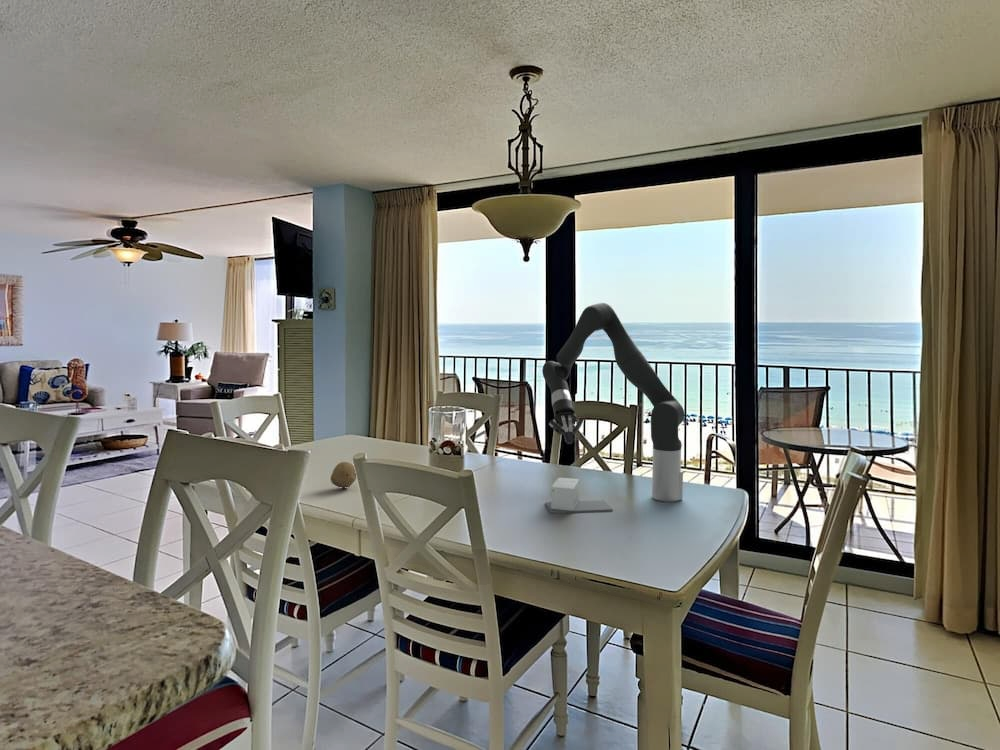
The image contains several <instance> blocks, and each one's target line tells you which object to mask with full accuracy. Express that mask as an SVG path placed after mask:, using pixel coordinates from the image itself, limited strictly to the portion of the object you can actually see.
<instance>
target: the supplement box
mask: <svg viewBox="0 0 1000 750" xmlns="http://www.w3.org/2000/svg"><path fill="white" fill-rule="evenodd" d="M578 501H580V479H579V478H571V477H570V478H567V477H558V478H557V479H556V480H555V482H554V483H553V484H552V485H551V487H550V502H551V509H557V510H568V511H573V510H574V508H575V506H576V505H577V503H578Z"/></svg>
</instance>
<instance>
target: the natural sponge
mask: <svg viewBox="0 0 1000 750" xmlns="http://www.w3.org/2000/svg"><path fill="white" fill-rule="evenodd" d="M354 467H355V465H353V464H352V463H351V462H347V461H342V462H339V463H338V464H336V466H335V467H334V468H333V470H332V473H331V475H330V482H331V484H333V486H335V487H338V488H339V487H342V488H345V487H348V488H349V487H350V486H352V484H353V483H355V482H356V480H357V477H356V473H355V469H356V468H355V469H354Z"/></svg>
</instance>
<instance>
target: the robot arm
mask: <svg viewBox="0 0 1000 750" xmlns="http://www.w3.org/2000/svg"><path fill="white" fill-rule="evenodd" d="M601 330H603V331H604V333H605V334H606V335H607V336H608V338H609V340H610V342H611V343H612V347H613V356H614V359H615V363H616V365H617V367H618V368H619V369H620V371H621V373H622V374H623V375H624V377H625V378H626V379H627V381H628V382H630V383H631V384H632V385H633V386H634V387H635V388H636V389H638V390H639V391H640V392H641V393H642V394H644V396H646V398H647V399H648V400H649V402H650V403H651V404H652V406H653V408H652V409H651V413H650V414H651V415H650V438H651V439H650V440H651V442H652V473H651V474H652V476H651V477H652V480H651V482H652V483H651V495H652V496H651V497H652V499H653V500H656V501H660V502H667V503H668V502H670V503H672V502H673V503H674V502H678V501H683V497H684V496H683V492H684V491H683V487H684V485H683V484H684V472H683V471H682V470H681V469H682V467H681V466H682V462H681V461H682V440H680V437H679V425H681V424H682V423H683V421H684V419H685V410H684V407H683V405H682V404H681V403H680V402H679V401H678V400H677V399H676V397H675V396H674V395H673V394H672V392H670V391H669V390H668V389H667V387H666V386H665V384H664V383H663V382H662V380H661V378H660V377H659V375H658V374H657V373H656V371H655V370H654V369H653V368H652V365H651V364H650V363H649V362H648V359H647V358H646V357H645V356H644V354H643V353H642V351H641V350H640V349H639V348H638V346H637V344H635V342H634V340H633V339H632V337H631V336H630V335H629V334H628V332H627V331H626V329H625V327H624V325H623V324H622V322H621V320H620V318H619V316H618V315H617V313H616V311H615V310H614V309H613V307H612V306H611V305H610V304H608V303H606V302H599V303H596V304H592V305H589V306H587V307H586V308H585V309H583V311H582V313H581V315H580V317H579V318H578V320H577V322H576V325H575V327H574V329H573V331H572V333H571V334H570V336H569V338H568V339H567V340H566V342H565V343H564V345H563V346H562V347H561V348H560V350H559V352H558V353H557V354H556V361H554V360H547V361H546V362H545V363H543V366H542V372H541V373H542V377H543V379H544V381H545V382H546V384H547V386H548V388H549V390H550V395H551V407H552V410H553V415H554V417H553V419H550V420H549V423H548V427H550V428H551V429H553V431H554V432H556V433H557V434H558V435H559V436H560V435H563V437H564V442H565V443H566V444H567V445H572V444H573V443H574V440H575V439H574V435H577V433H578V432H579V430H580V429H581V427H582V426H583V423H584V419H582V418H580V419H579V418H578V416H577V415H576V414H575V408H574V404H573V400H572V395H571V394H570V389H569V385H568V382H567V380H568V378H569V376H570V373H571V371H572V367H573V366H574V363H575V362H576V360H578V358H580V356H581V354H582V352H583V350H584V346H585V343H586V340H587V339H588V338H589V337H590V336H591V335H592V334H594V333H595V332H598V331H601ZM575 424H576V425H575ZM574 425H575V426H574ZM573 426H574V428H573Z"/></svg>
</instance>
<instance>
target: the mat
mask: <svg viewBox="0 0 1000 750" xmlns="http://www.w3.org/2000/svg"><path fill="white" fill-rule="evenodd" d="M544 504H545V506H546V508H547V510H548V512H549V513H550V514H552V515H553V514H570V513H571V514H573V513H575V514H576V513H596V512H598V513H599V512H601V513H602V512H613V511H614V509H613V508H612V507H611V506H610V504H608V502H607V501H606V500H604V499H599V500H598V499H596V500H579V501H578V503H577V505H576V506H575V508H574V510H573V511H568V510H557V509H551V501H546V502H544Z"/></svg>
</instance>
